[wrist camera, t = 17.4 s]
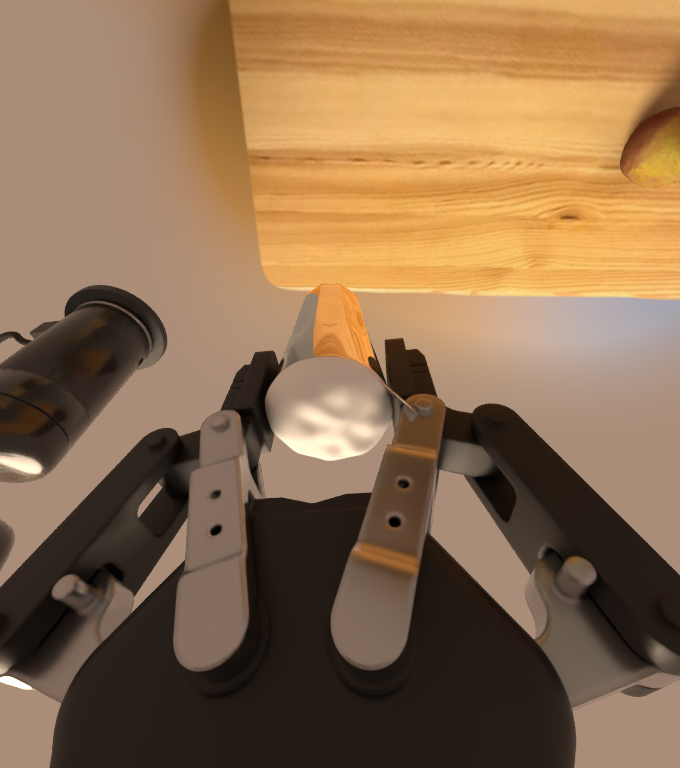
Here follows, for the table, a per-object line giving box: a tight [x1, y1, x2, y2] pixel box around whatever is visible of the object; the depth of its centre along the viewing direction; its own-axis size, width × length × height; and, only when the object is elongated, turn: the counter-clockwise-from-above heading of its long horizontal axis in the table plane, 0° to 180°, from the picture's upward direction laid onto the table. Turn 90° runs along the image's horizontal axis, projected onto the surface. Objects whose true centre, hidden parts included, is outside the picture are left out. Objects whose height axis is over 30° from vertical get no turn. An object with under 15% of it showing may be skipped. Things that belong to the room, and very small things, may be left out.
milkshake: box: [265, 284, 418, 461], centre depth 14 cm, size 4×5×10 cm
